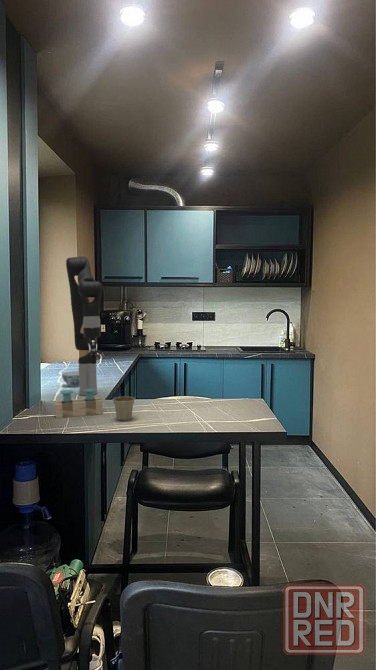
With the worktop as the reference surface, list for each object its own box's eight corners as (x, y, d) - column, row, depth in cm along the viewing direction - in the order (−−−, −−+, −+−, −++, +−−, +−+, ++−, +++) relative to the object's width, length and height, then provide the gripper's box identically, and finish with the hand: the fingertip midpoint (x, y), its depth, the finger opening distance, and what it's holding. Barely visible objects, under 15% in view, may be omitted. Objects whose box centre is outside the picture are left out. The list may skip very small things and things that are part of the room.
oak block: (56, 414, 202) (55, 401, 201) (101, 410, 207) (100, 397, 207) (56, 418, 195) (55, 404, 195) (102, 413, 201) (102, 400, 200)
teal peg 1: (61, 405, 201) (60, 390, 201) (73, 404, 203) (72, 389, 202) (61, 407, 196) (60, 392, 196) (73, 406, 198) (72, 391, 197)
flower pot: (140, 417, 193) (139, 398, 192) (125, 423, 185) (124, 402, 184) (123, 415, 198) (123, 395, 197) (108, 420, 190) (107, 399, 190)
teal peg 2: (84, 403, 204) (83, 388, 204) (95, 402, 206) (95, 387, 205) (84, 405, 199) (84, 390, 199) (96, 404, 201) (96, 390, 200)
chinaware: (91, 383, 277) (90, 371, 276) (83, 388, 262) (82, 375, 261) (67, 383, 278) (67, 371, 278) (58, 388, 263) (57, 375, 263)
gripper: (82, 326, 206) (84, 361, 207) (83, 327, 192) (85, 365, 194) (99, 325, 208) (100, 360, 209) (101, 326, 194) (102, 364, 195)
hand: (93, 362), depth 201 cm, fingers open, 8 cm apart
